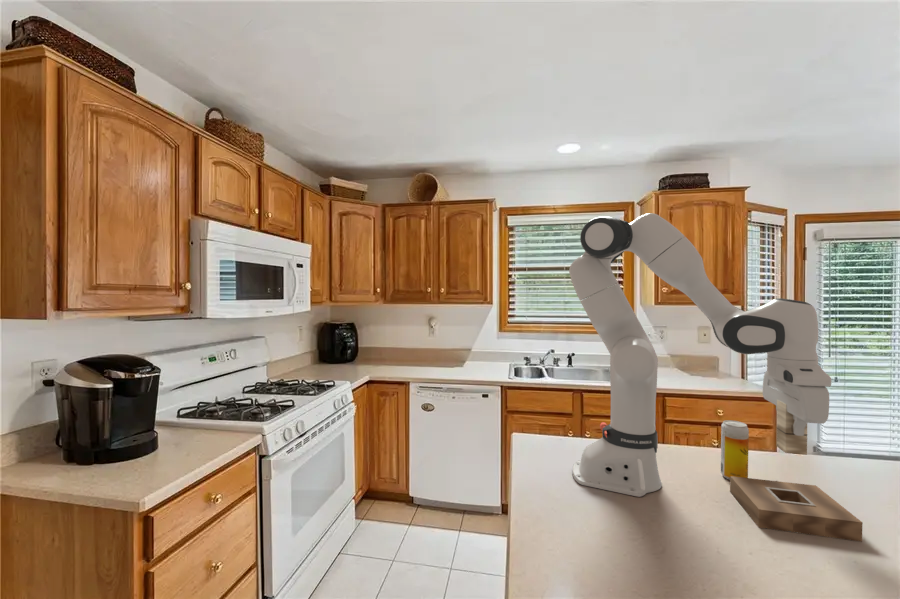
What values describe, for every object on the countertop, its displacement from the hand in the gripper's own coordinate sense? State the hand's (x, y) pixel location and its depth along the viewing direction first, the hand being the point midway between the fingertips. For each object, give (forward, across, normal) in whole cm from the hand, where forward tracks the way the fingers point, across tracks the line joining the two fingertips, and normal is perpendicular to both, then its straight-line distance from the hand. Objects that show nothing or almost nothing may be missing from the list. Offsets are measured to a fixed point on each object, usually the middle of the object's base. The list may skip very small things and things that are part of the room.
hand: (791, 430), depth 92 cm
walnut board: (+19, 0, 0) cm, 19 cm away
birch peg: (+5, 0, 0) cm, 5 cm away
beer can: (+20, -17, -5) cm, 26 cm away
